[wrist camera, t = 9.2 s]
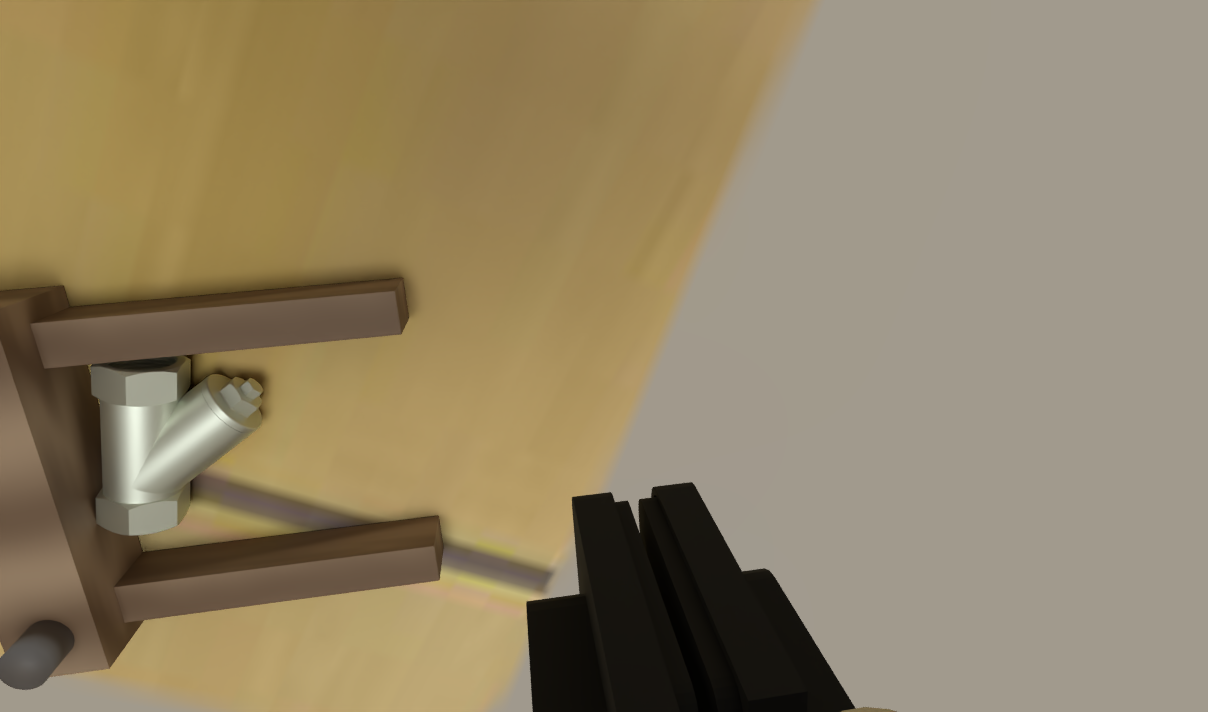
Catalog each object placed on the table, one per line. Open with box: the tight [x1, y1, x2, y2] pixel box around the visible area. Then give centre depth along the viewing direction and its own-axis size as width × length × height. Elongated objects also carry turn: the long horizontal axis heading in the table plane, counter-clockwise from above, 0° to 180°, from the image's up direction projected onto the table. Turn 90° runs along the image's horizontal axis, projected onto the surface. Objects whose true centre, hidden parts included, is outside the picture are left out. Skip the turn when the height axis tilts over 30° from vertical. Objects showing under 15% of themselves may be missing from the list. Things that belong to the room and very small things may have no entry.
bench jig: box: [0, 278, 443, 690], centre depth 33 cm, size 17×19×7 cm
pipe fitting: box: [91, 355, 263, 535], centre depth 34 cm, size 8×4×7 cm
